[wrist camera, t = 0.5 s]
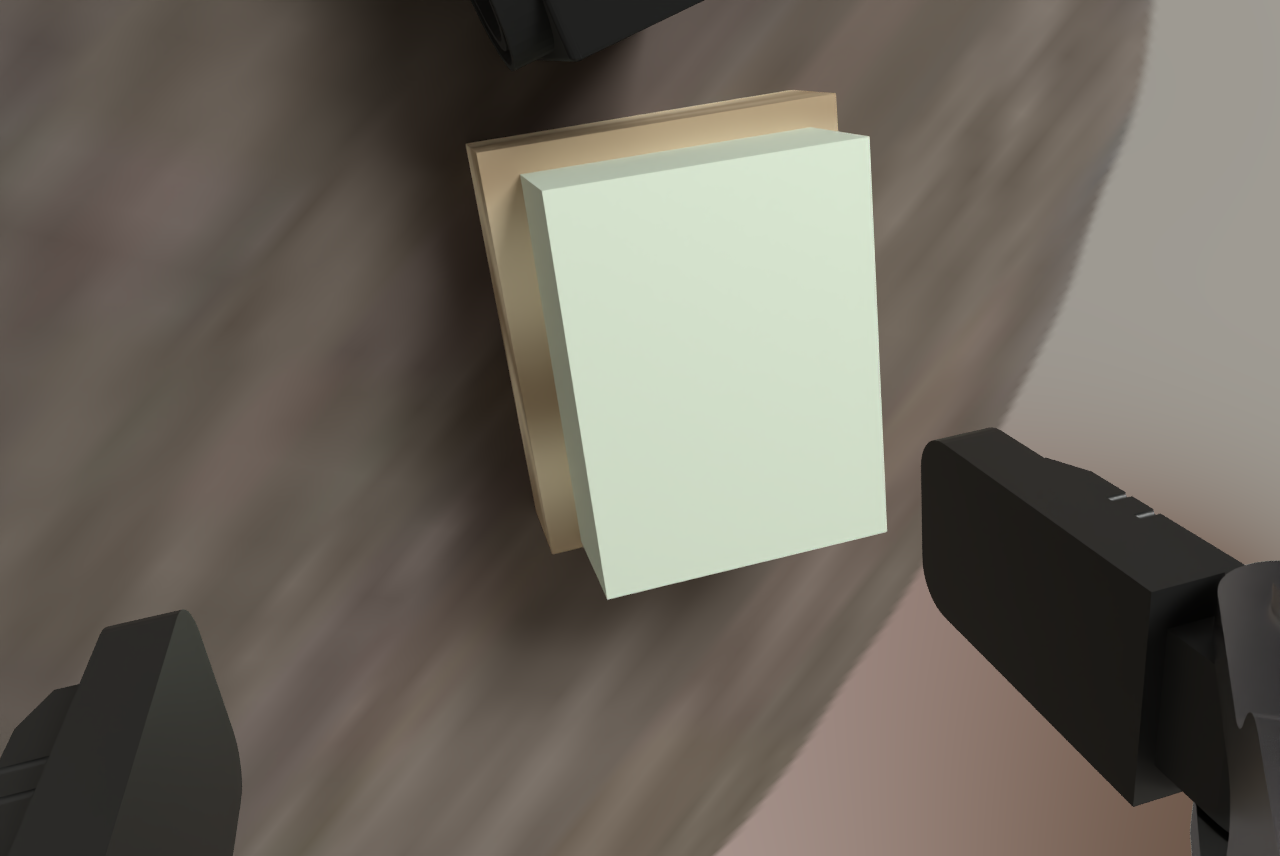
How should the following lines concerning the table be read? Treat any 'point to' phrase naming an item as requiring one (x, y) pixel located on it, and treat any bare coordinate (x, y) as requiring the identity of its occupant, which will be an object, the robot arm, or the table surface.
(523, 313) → the block bottom
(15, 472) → the table surface
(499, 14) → the digital camera
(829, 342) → the block top
